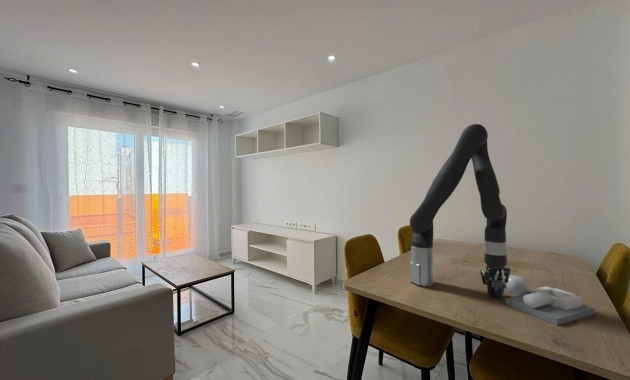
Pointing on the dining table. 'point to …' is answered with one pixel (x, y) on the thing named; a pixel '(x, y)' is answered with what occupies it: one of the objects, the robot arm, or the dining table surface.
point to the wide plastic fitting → (517, 285)
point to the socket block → (551, 305)
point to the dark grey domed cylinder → (497, 289)
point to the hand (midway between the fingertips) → (495, 294)
